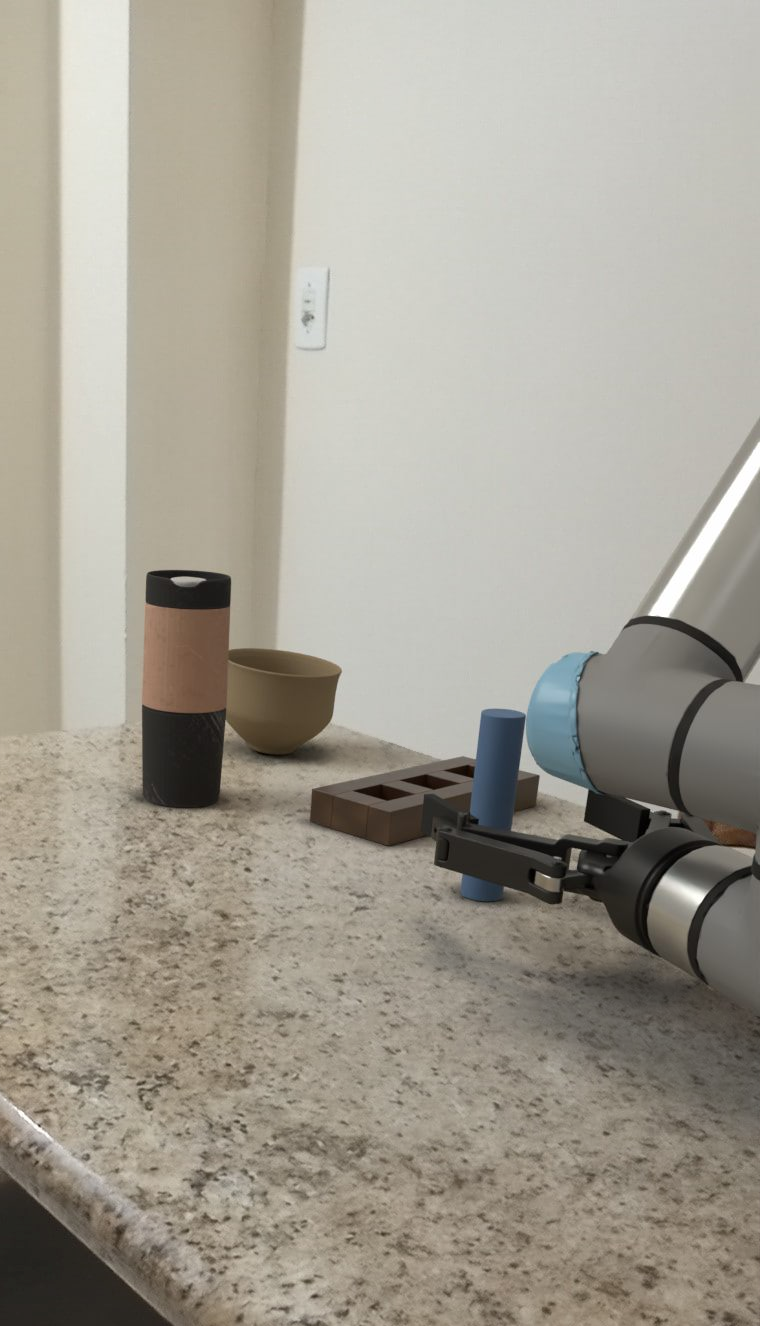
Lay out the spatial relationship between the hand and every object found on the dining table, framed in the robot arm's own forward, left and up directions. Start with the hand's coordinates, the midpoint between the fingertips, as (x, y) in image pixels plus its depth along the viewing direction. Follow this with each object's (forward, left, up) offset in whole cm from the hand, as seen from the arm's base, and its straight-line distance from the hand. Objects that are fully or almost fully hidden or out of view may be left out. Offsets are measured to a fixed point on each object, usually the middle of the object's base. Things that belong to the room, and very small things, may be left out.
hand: (510, 807), depth 100 cm
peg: (+2, -1, -8) cm, 8 cm away
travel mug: (+36, -1, -8) cm, 37 cm away
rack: (+19, -16, -8) cm, 26 cm away
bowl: (+44, -22, -8) cm, 50 cm away
